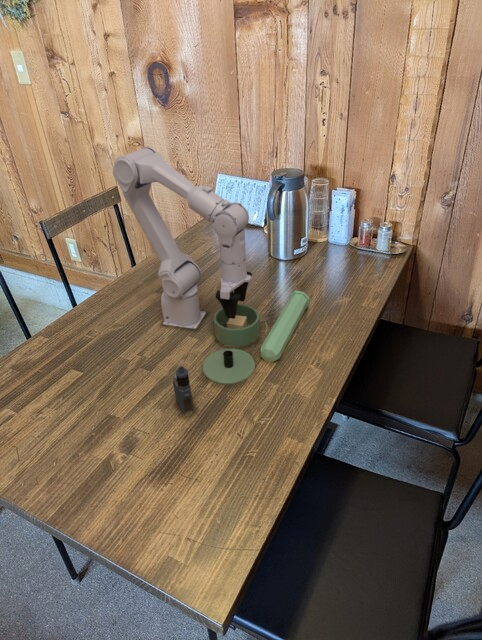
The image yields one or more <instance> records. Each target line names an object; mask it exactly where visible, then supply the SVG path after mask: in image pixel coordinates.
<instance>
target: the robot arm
mask: <svg viewBox="0 0 482 640" xmlns="http://www.w3.org/2000/svg"><path fill="white" fill-rule="evenodd" d="M112 175H113V177H114V179H115V180H116V182H117V184H118V186H119V188H120V189H121V191H122V195H123V197H124V199H125V201H126V203H127V205H128V206H129V208H130V210H131V212H132V214H133V215H134V217H135V219H136V221H137V223H138V224H139V226H140V228H141V230H142V231H143V234H144V235H145V236H146V237H145V238H146V239H147V240H148V242H149V244H150V245H151V247H152V250H153V251H154V252H155V255H156V256H157V258H158V260H159V262H160V265H159V268H158V272H157V276H158V278H159V280H160V283H161V288H162V290H163V291H162V293H161V297H160V307H161V312H162V318H163V322H162V326H174V327H179V328H187V329H194V330H195V329H197V328H198V326H199V325H200V323H201V321H202V320H203V318H204V317H205V315H206V313H207V312H206V311H202V310H201V307H200V299H199V289H198V288H199V282H200V281H201V280H202V277H203V273H202V269H201V268H200V266H199V265H198V264H197V263H196V262H195V261H194V260H193V259H192V256H191V255H190V254H187V253H184V252H181V250H180V248H179V246H178V244H177V242H176V241H175V240H174V237H173V236H172V233H171V231H170V230H169V228H168V226H167V225H166V223H165V221H164V219H163V217H162V215H161V213H160V212H159V210H158V208H157V206H156V204H155V202H154V201H153V199H152V197H151V195H150V192H151V188H152V184H154V183H158V184H161V185H162V186H163V187H165V188H167V189H168V190H170V191H172V192H173V193H175V194H177V195H178V196H179V197H182V198H183V199H185V200H186V201H187V205H188V208H189V210H191V211H193V212H195V213H196V214H197V215H199V216H200V217H201V218H203V219H205V220H206V221H207V222H208V223H210V224H211V225H212V229H213V230H214V233H215V234H216V235H217V242H218V244H219V256H220V270H221V272H220V273H221V274H220V285H221V286H220V289H218V290H217V291H216V293H215V299H216V300H217V301H218V302H219V304H220V305H221V308H222V307H223V309H224V312H225V315H226V317H227V318H232V319H235V317H236V313H237V304H239V302H245V300H246V297H247V291H248V287H249V283H250V282H251V280H252V276H253V273H252V272H251V271H248V262H247V257H246V256H247V255H246V254H247V253H246V232H245V231H246V230H245V227H246V226H247V225H248V224H249V221H250V215H249V212H248V210H247V208H246V207H245V206H243V205H242V203H241V202H238V201H237V202H235V201H234V202H232V201H229V200H227V199H224V198H223V197H222V196H220V195H219V194H218V193H216V192H214V191H213V189H212V187H210V186H208V185H207V186H206V185H204V184H203V185H195V184H194V183H192V182H191V181H190V180H189V179H187V178H186V177H185V176H184V175H183V174H181V173H180V172H179V171H177V170H176V169H175V168H173V167H172V165H170V164H169V163H167V162H166V160H165V159H164V155H163V154H162V153H161V152H158V151H157V150H156V149H154V148H153V147H151V146H143V147H141V148H140V149H138V150H134V151H132V152H130V153H127V154H124V155H119V156H118V157H116V158H115V160H114V164H113V168H112Z"/></svg>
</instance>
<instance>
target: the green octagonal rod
mask: <svg viewBox="0 0 482 640" xmlns="http://www.w3.org/2000/svg"><path fill="white" fill-rule="evenodd" d="M310 299H311V298H310V297H309V296H308V295H307V294H306V292H305V291H301V290H294V291H293V292H291V293H290V294H289V295H288V300H287V301H286V304H285V305H284V308H283V309H282V311H281V312H280V314H279V315H278V318H277V319H276V320H275V322H274V324H273V326H272V327H271V329H270V331H269V333H268V335H266V338H265V339H264V341H263V343H262V344H261V346H260V358H262V359H263V360H264V361H265V362H268V363H274V362H275V361H277V360H279V359H280V358H281V356H282V354H283V353H284V350H285V349H286V347H287V345H288V343H289V341H290V339H291V337H292V335H293V333H294V331H295V330H296V328H297V326H298V324H299V323H300V321H301V319H302V316H303V314H304V313H305V311H306V309H307V308H309V307H310Z"/></svg>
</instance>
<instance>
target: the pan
mask: <svg viewBox="0 0 482 640" xmlns="http://www.w3.org/2000/svg"><path fill="white" fill-rule="evenodd" d="M236 315H238V316H246V317H247V324H249V325H247V327H244V328H239V329H231V328H227V326H226V327H225V325H227V322H228V321H229V319H230V318H227V317H226V315H225V312H224V309H223V307H222V306H221V308H219V309H218V310H217V311H216V312H215V313H214V315H213V323H214V334H215V339H216V340H217V341H218V342H219V343H221V344H223V345H225V346H228V347H233V348H234V347H245V346H247V345H251V344H253V343H254V342H255V341H256V340H258V339H259V337H260V334H261V325H260V324H261V321H260V320H261V318H260V312H259V311H258V309H256V308H255V307H252V306H250V305H248V304H241V303H238V304H237V313H236Z"/></svg>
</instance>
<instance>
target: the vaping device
mask: <svg viewBox="0 0 482 640" xmlns="http://www.w3.org/2000/svg"><path fill="white" fill-rule="evenodd" d="M172 384H173V390H174V396H175V401H176V403H177V405H178V407H179V409H180V411H181V413H182V414H183V415H186V414H190V413H192V412H194V410H195V408H194V403H193V395H192V388H191V384H190V377H189V370H188V369H187V368H185V367H184V366H182V365H181V366H179V367H178V368H177V369H176V370H175V372H174V374H173V378H172Z"/></svg>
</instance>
